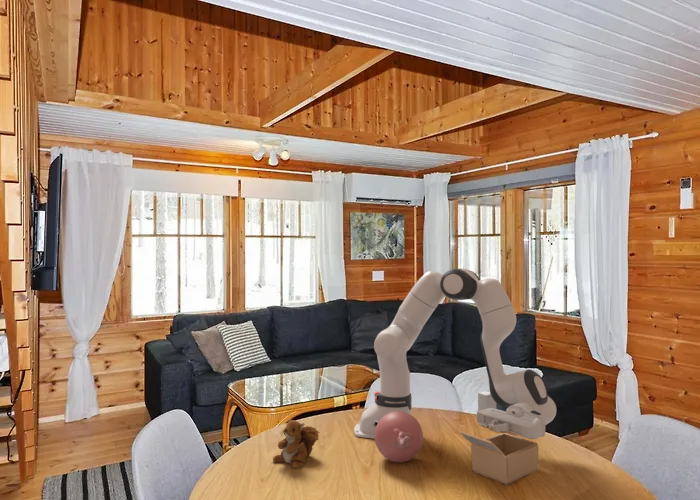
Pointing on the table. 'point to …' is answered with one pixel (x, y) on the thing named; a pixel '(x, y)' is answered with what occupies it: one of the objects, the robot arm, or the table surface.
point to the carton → (506, 458)
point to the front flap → (482, 443)
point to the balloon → (398, 436)
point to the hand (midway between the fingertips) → (492, 428)
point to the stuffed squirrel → (296, 443)
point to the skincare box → (485, 402)
